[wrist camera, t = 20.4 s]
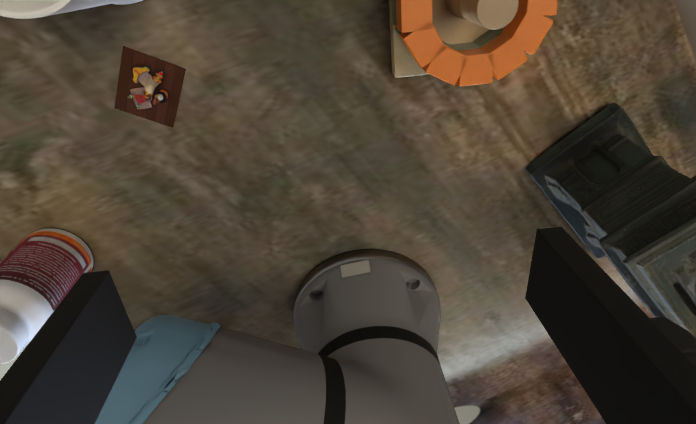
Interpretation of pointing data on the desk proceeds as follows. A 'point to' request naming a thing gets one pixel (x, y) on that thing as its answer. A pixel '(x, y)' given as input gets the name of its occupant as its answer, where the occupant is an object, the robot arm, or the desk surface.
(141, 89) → the diorama
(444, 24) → the stacker
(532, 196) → the desk surface
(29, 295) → the pill bottle
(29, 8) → the mug
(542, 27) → the orange ring
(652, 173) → the model
